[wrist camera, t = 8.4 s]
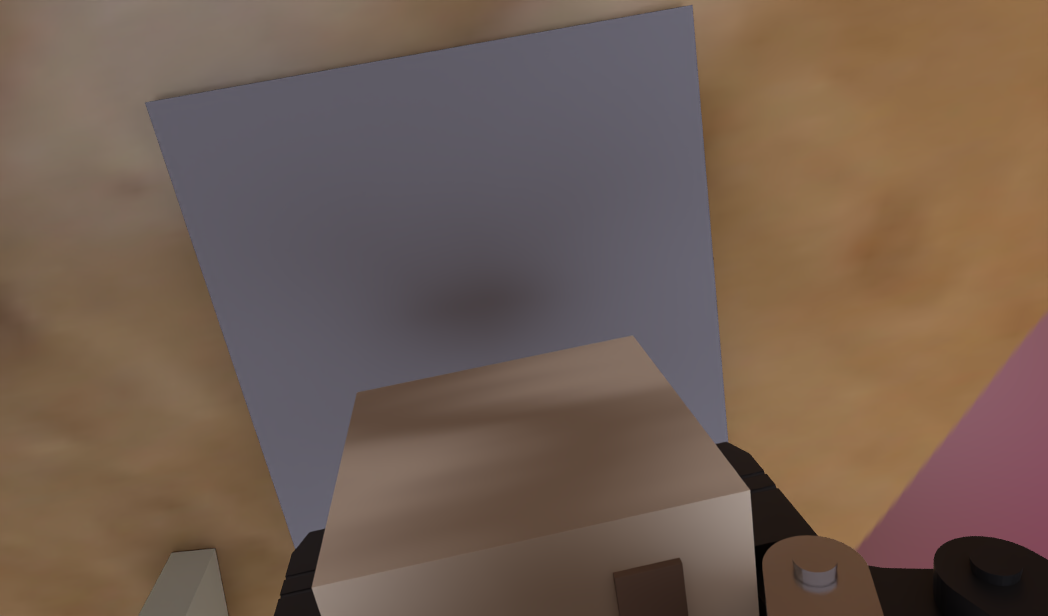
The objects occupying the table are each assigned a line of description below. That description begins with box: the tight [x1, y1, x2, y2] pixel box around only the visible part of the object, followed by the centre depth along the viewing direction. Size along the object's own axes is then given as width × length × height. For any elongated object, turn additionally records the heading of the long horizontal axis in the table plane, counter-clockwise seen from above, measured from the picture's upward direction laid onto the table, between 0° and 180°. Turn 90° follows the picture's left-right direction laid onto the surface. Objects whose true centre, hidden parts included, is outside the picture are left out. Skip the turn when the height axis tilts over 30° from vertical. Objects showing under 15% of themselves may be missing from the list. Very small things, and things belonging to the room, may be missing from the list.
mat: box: [145, 5, 728, 549], centre depth 24 cm, size 16×16×1 cm
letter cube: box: [312, 335, 759, 616], centre depth 11 cm, size 5×5×5 cm
